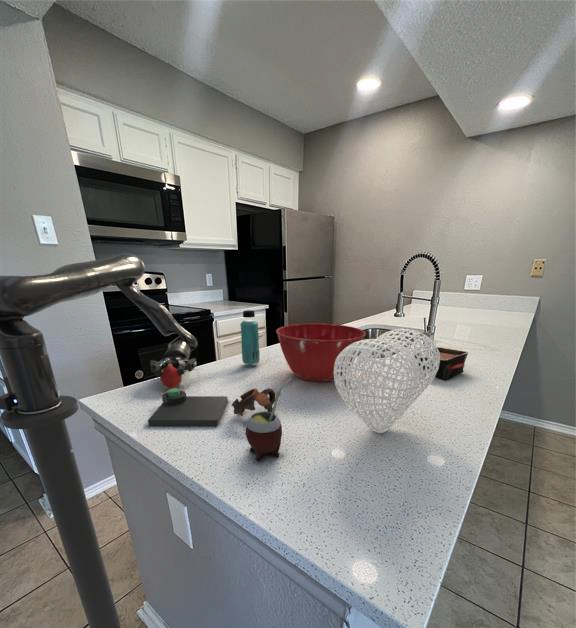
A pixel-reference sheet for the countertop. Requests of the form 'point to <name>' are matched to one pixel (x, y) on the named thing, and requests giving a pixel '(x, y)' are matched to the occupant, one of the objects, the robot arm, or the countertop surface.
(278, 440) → the mate gourd
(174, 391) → the button
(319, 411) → the countertop surface
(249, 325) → the beverage bottle
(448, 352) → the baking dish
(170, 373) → the onion
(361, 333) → the mixing bowl
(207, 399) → the scale
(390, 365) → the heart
